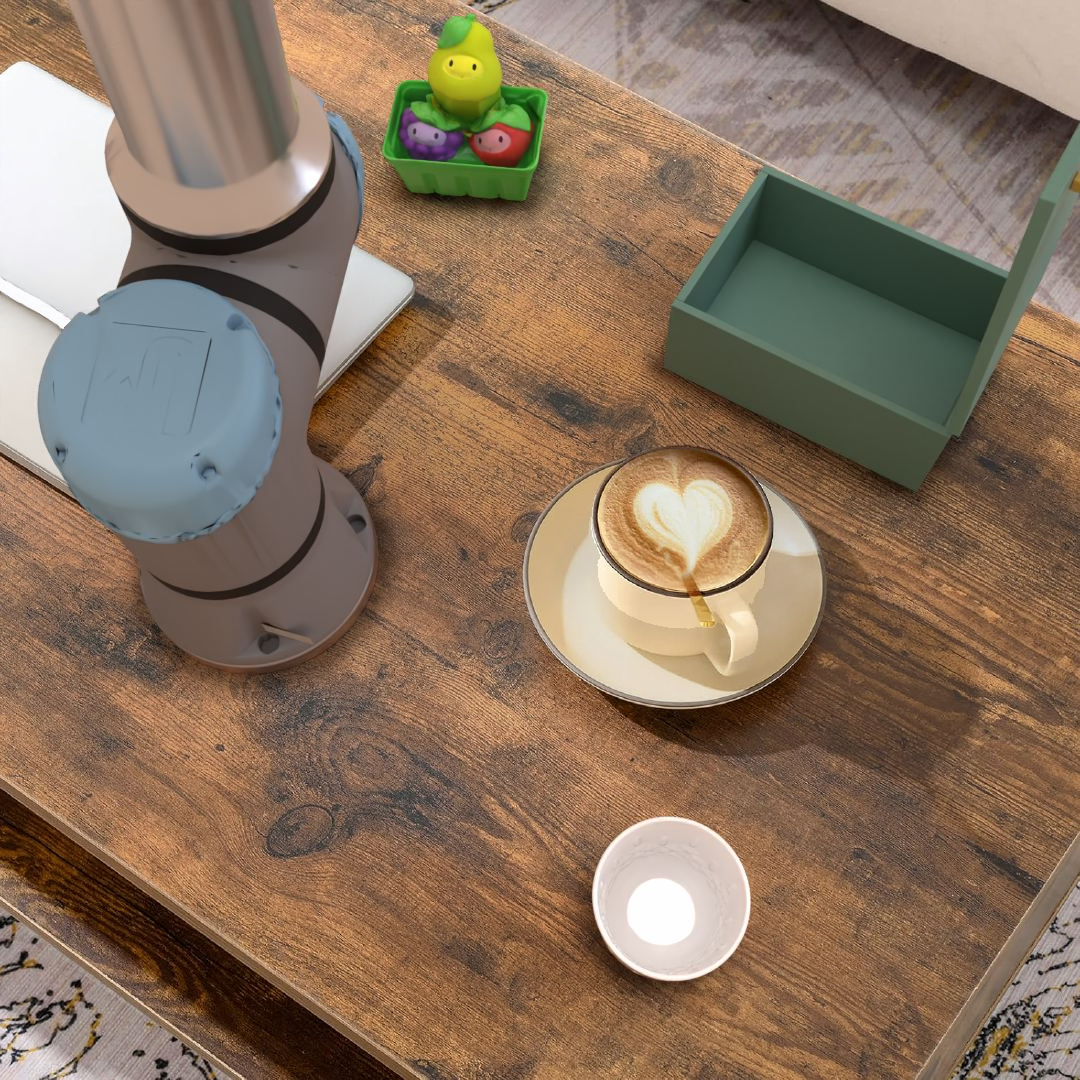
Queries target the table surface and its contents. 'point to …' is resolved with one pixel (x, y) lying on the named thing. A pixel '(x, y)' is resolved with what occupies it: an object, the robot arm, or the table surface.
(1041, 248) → the lid
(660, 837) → the white cup
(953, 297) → the chest
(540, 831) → the table surface
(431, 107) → the fruit basket
